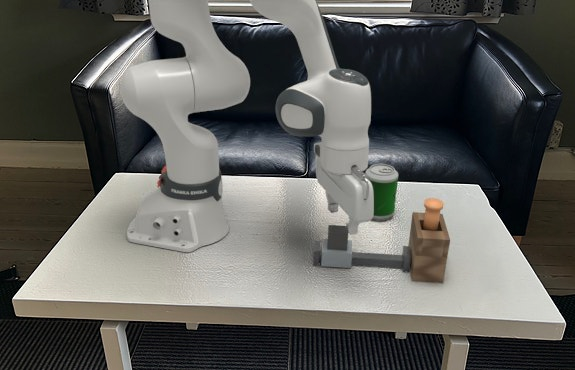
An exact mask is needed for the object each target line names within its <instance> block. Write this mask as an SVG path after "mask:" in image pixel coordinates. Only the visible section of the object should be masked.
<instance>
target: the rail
mask: <svg viewBox="0 0 575 370" xmlns="http://www.w3.org/2000/svg"><path fill="white" fill-rule="evenodd" d="M312 261H313V262H312V266H314V267H319V266H320V264H321V263H322V249H321V240H314V244H313V260H312ZM410 261H411V254H410V248H409V246H408V245H402V253H401V254H391V253H390V254H389V253H376V252H375V253H374V252H373V253H372V252H358V251H352V261H351V267H352V266H353V267H366V268H367V267H368V268H370V267H372V268H382V269H383V268H385V269H397V270H398V269H400V270H402V272H403V273H410Z"/></svg>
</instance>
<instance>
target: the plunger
mask: <svg viewBox="0 0 575 370" xmlns="http://www.w3.org/2000/svg"><path fill="white" fill-rule="evenodd" d="M444 205H445V203H444V202H443V201H442V200H441V199H439V198H435V197H430V198H426V199H425V200H424V202H423V206H424V208H425V209H424V211H425V212H424V213H425V217H424V224H423V230H428V231H437V230H438V223H439V216H440V214H441V211H442V210H443V209H444Z"/></svg>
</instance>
